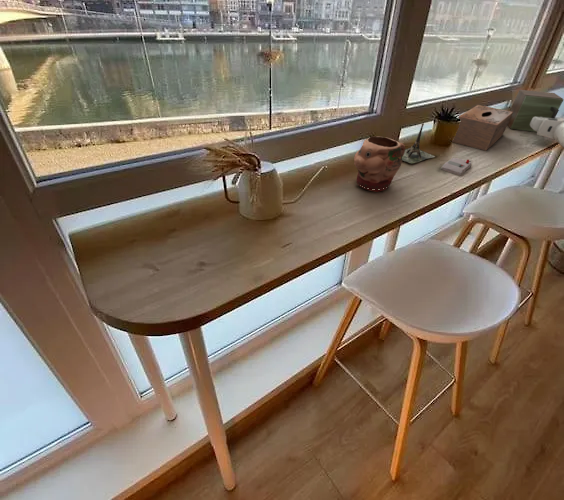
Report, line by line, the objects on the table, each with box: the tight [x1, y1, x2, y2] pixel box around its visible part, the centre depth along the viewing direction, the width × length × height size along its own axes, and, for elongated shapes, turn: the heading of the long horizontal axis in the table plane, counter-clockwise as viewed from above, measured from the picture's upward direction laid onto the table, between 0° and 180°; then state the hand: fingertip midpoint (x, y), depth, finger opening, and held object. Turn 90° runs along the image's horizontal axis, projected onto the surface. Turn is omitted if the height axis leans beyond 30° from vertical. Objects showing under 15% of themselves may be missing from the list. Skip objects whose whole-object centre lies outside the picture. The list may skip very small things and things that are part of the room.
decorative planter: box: [353, 135, 406, 193], centre depth 99 cm, size 20×12×14 cm, turn 128°
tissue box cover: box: [451, 104, 513, 152], centre depth 137 cm, size 26×14×10 cm, turn 138°
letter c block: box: [510, 96, 564, 133], centre depth 144 cm, size 6×15×14 cm, turn 73°
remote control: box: [440, 157, 473, 176], centre depth 114 cm, size 7×16×3 cm, turn 136°
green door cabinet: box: [507, 89, 564, 129], centre depth 151 cm, size 11×15×15 cm
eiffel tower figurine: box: [402, 121, 436, 164], centre depth 118 cm, size 15×10×13 cm
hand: (553, 119), depth 140 cm, fingers open, 8 cm apart
